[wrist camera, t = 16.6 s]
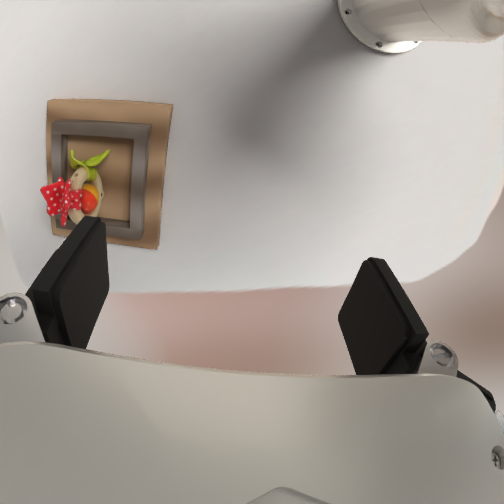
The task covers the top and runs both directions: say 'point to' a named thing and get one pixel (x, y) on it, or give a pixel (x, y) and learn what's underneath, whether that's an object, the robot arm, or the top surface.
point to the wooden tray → (114, 161)
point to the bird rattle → (76, 191)
